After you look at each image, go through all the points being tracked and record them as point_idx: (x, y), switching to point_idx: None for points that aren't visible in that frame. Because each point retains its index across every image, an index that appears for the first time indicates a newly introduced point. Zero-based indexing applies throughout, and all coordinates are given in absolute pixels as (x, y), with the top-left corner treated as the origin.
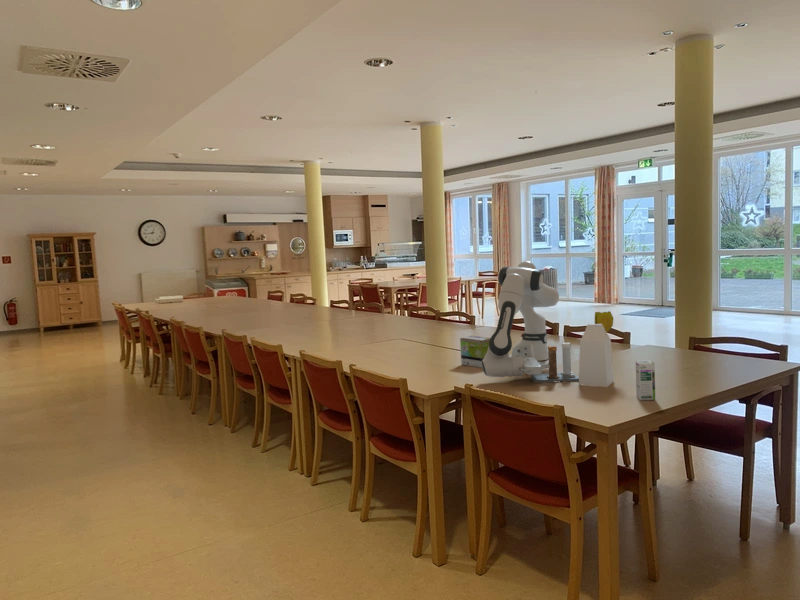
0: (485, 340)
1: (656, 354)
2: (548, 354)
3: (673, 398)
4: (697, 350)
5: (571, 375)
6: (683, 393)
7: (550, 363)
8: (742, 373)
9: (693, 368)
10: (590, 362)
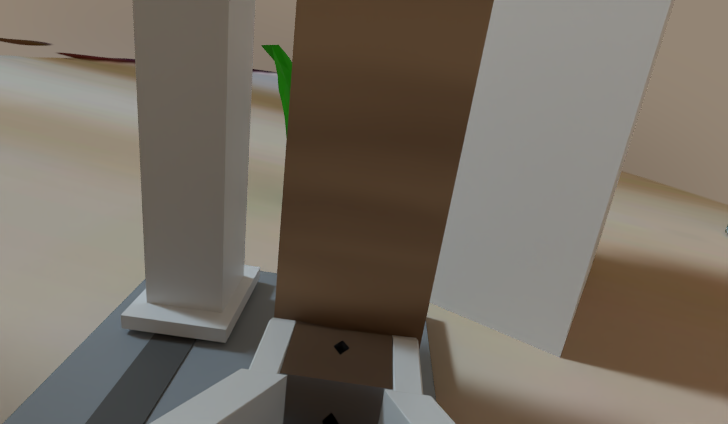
0: None
1: (47, 75)
2: (303, 111)
3: (714, 211)
4: (93, 60)
5: None
6: (621, 184)
7: (427, 306)
8: None
9: None
10: (631, 133)
